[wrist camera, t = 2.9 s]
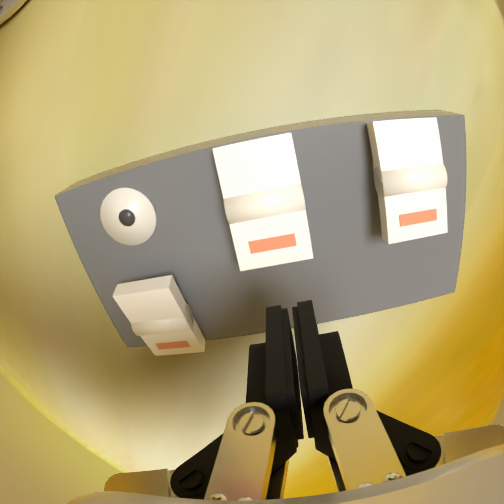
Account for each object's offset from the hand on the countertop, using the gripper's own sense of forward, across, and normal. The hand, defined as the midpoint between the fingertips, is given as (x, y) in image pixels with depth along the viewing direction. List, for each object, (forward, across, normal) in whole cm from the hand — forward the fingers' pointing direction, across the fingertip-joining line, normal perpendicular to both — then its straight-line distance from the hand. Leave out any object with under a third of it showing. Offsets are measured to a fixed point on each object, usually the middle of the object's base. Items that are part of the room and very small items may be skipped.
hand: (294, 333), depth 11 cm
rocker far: (+6, +8, +3) cm, 10 cm away
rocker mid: (+5, 0, -3) cm, 6 cm away
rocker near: (+6, -7, -3) cm, 10 cm away
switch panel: (+10, 0, 0) cm, 10 cm away
